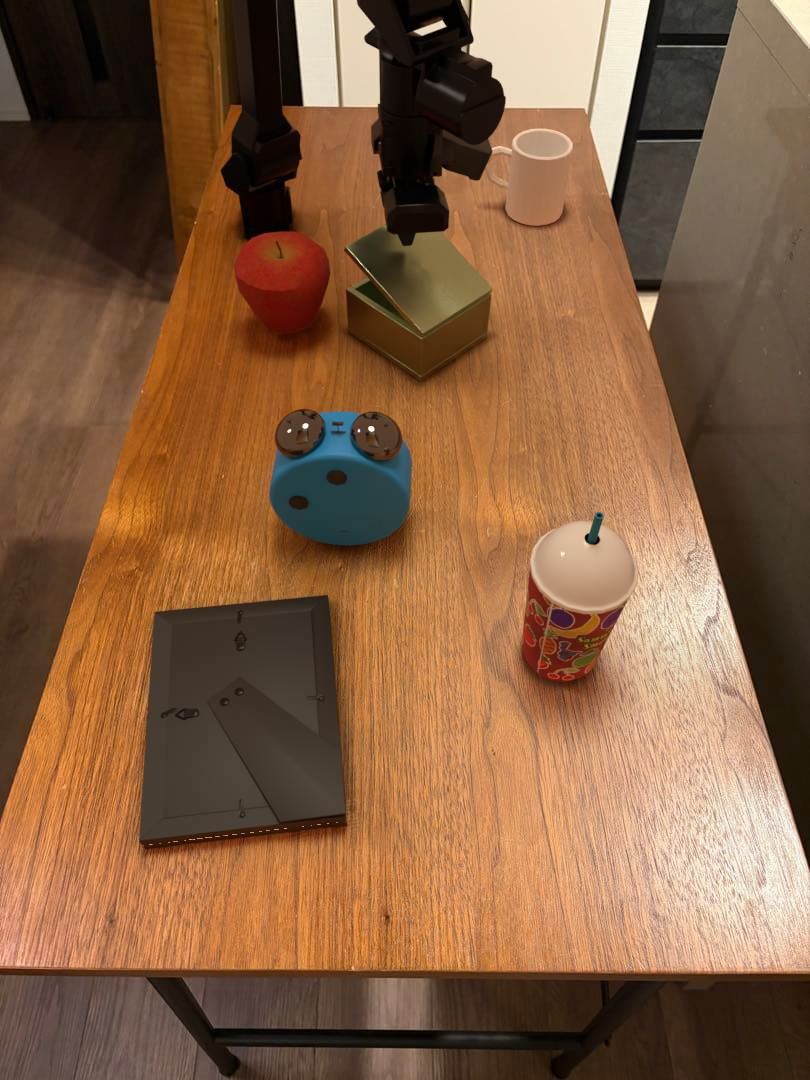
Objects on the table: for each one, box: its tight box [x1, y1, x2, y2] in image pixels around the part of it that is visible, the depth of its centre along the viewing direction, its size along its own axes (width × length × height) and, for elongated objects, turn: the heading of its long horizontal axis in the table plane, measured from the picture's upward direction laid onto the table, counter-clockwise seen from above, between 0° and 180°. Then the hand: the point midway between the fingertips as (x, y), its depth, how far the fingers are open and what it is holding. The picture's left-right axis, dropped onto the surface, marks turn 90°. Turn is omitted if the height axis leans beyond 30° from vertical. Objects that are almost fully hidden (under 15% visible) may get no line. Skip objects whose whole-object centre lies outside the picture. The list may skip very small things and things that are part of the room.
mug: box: [484, 127, 574, 227], centre depth 117 cm, size 8×12×10 cm
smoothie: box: [520, 511, 640, 683], centre depth 69 cm, size 8×8×20 cm
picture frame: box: [138, 594, 348, 850], centre depth 71 cm, size 16×3×21 cm
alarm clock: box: [268, 408, 413, 546], centre depth 80 cm, size 13×6×15 cm, turn 87°
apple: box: [233, 231, 331, 336], centre depth 100 cm, size 11×11×12 cm
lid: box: [343, 223, 494, 337], centre depth 96 cm, size 13×12×1 cm
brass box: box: [345, 276, 492, 382], centre depth 101 cm, size 13×12×6 cm
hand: (406, 244), depth 96 cm, fingers closed
